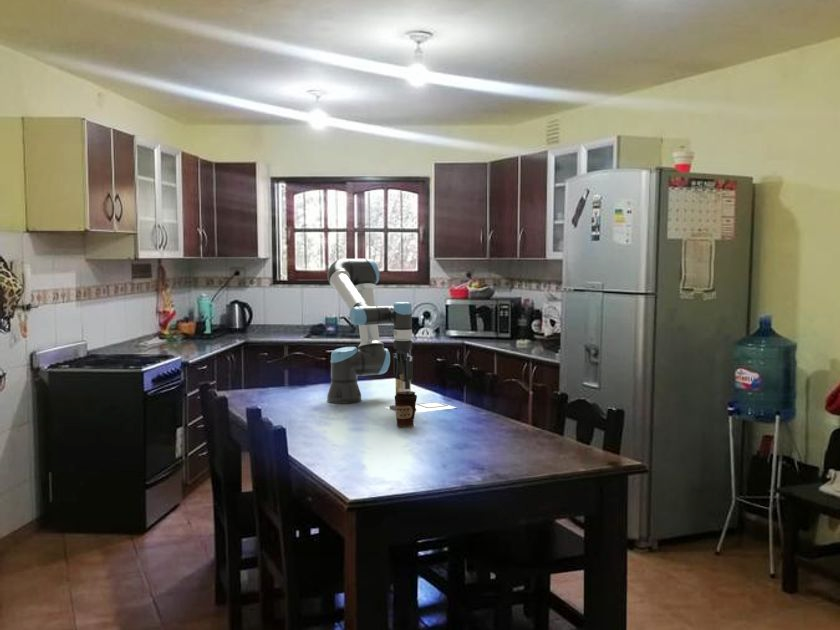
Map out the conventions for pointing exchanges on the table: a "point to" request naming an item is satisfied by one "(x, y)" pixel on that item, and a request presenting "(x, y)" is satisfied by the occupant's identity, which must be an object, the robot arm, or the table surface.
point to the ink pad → (394, 408)
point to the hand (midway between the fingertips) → (403, 395)
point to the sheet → (429, 406)
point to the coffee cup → (405, 408)
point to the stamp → (401, 384)
